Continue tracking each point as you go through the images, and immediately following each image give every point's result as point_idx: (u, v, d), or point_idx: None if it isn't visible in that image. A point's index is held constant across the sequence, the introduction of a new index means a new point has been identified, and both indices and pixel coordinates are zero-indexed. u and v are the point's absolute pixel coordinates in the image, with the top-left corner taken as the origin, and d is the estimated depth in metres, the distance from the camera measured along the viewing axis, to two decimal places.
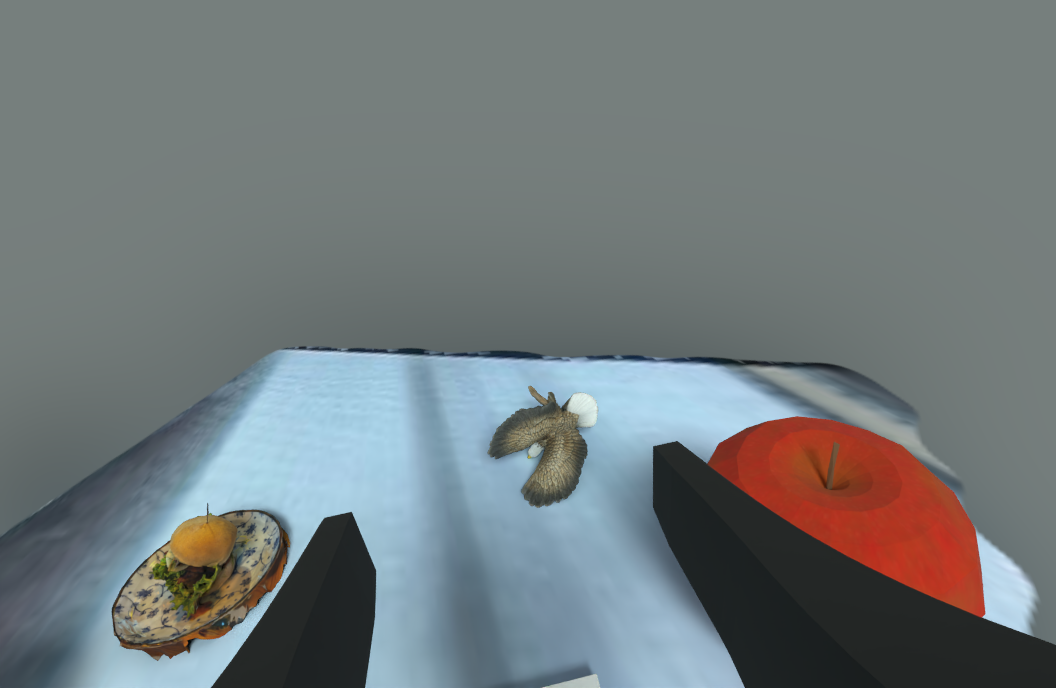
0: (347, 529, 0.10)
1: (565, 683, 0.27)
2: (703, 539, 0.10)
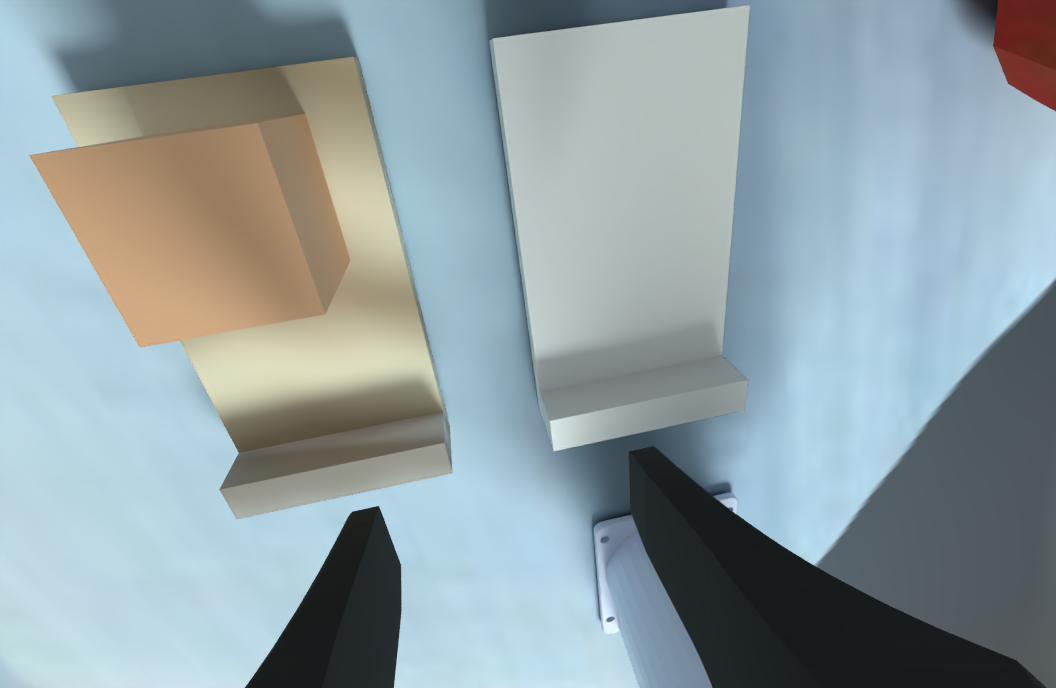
0: (375, 522, 0.10)
1: (695, 16, 0.15)
2: (675, 546, 0.10)
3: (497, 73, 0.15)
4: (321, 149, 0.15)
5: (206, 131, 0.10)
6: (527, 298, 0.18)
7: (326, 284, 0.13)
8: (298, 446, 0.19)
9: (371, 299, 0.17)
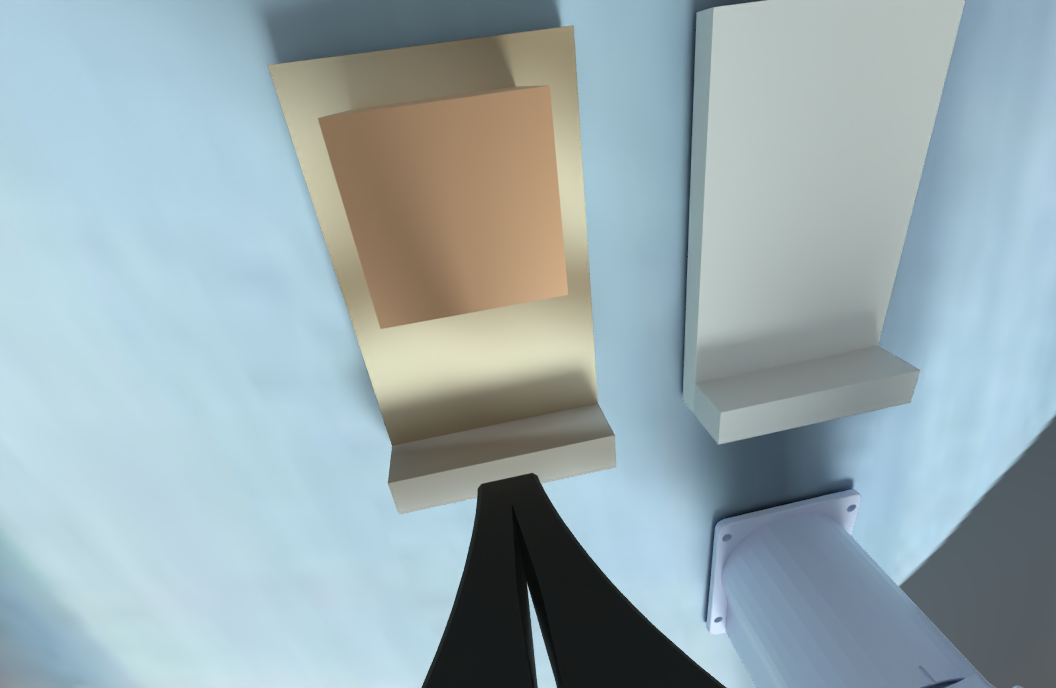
0: (510, 493, 0.11)
1: None
2: (532, 580, 0.09)
3: (710, 45, 0.14)
4: None
5: (496, 93, 0.10)
6: (699, 285, 0.18)
7: None
8: (454, 439, 0.18)
9: None
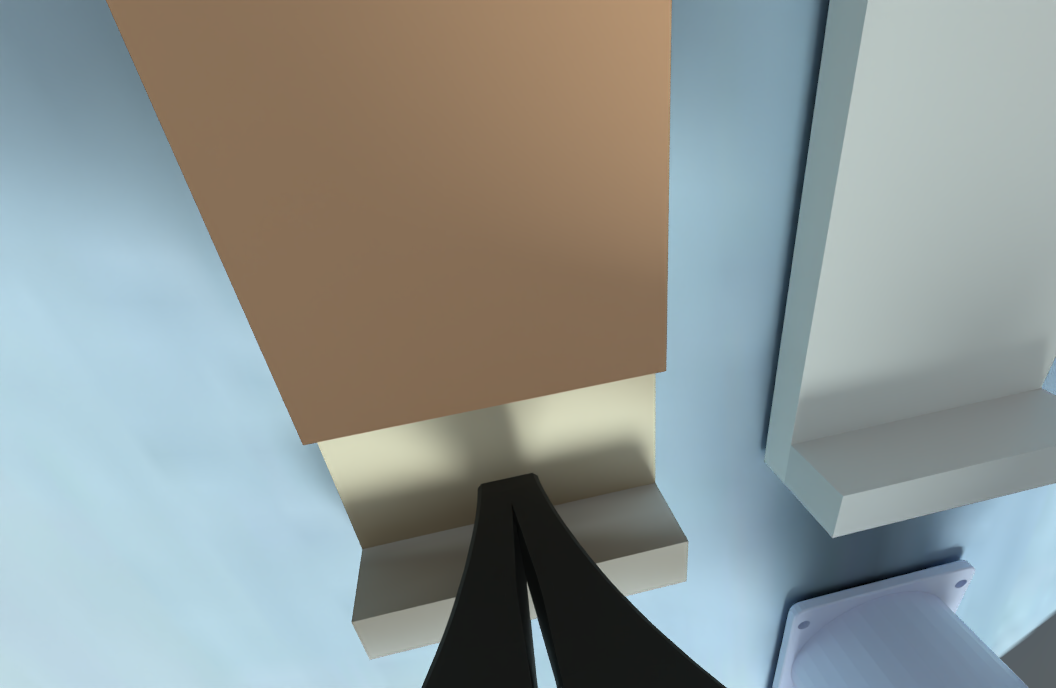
0: (510, 493, 0.11)
1: None
2: (532, 580, 0.09)
3: None
4: None
5: None
6: (813, 308, 0.12)
7: None
8: (452, 540, 0.13)
9: None
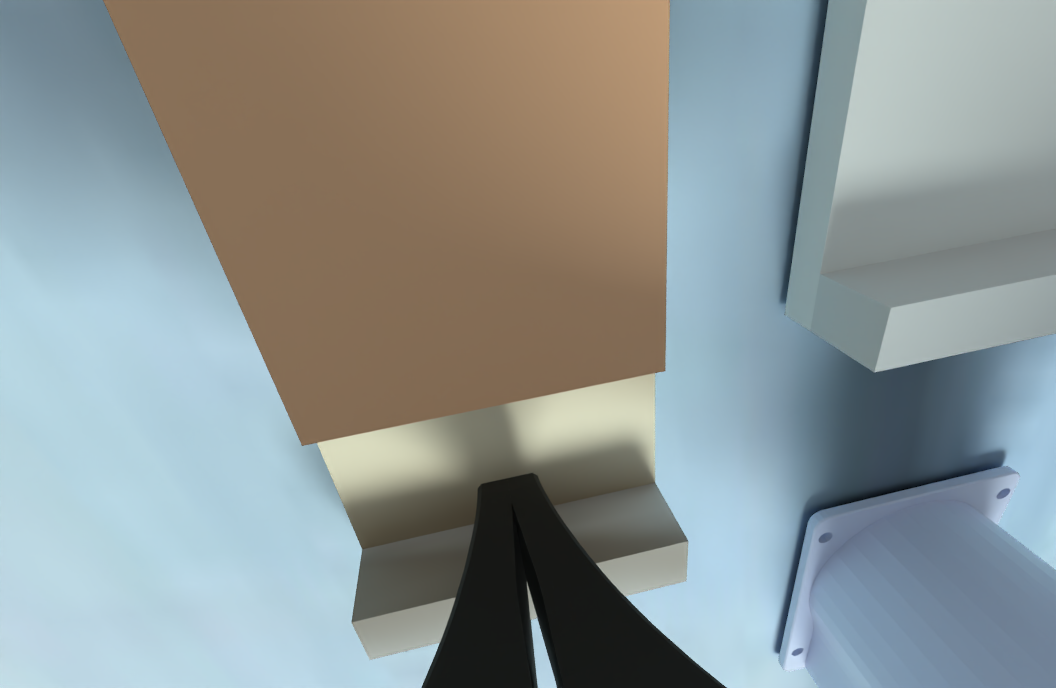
0: (509, 493, 0.11)
1: None
2: (532, 580, 0.09)
3: None
4: None
5: None
6: (854, 66, 0.09)
7: None
8: (452, 540, 0.13)
9: None
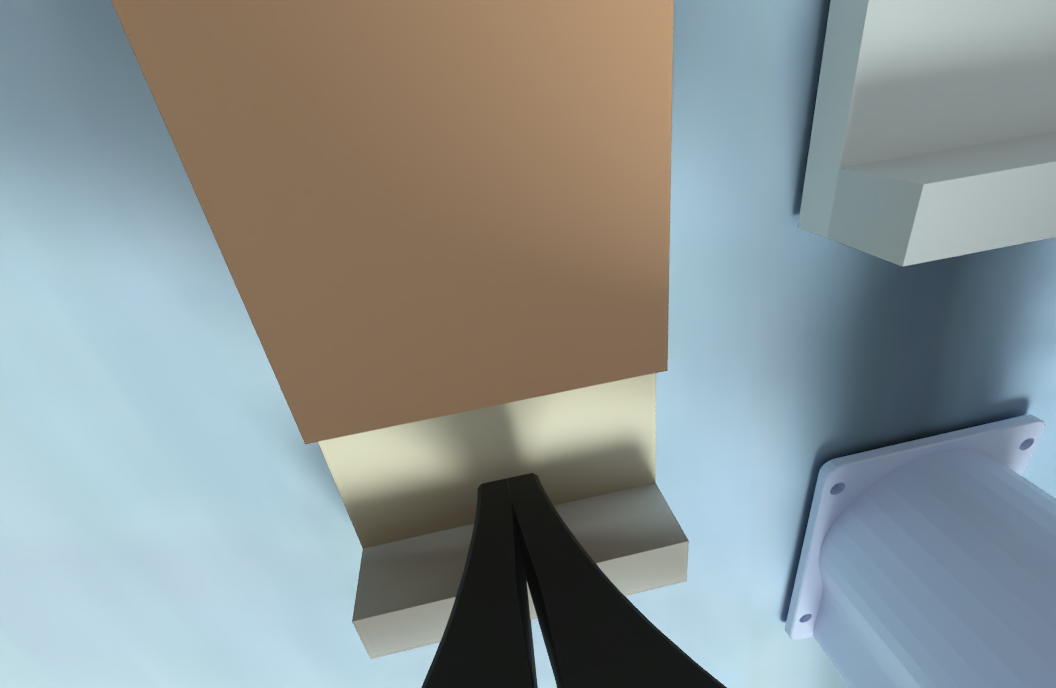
0: (510, 493, 0.11)
1: None
2: (532, 580, 0.09)
3: None
4: None
5: None
6: None
7: None
8: (453, 539, 0.13)
9: None
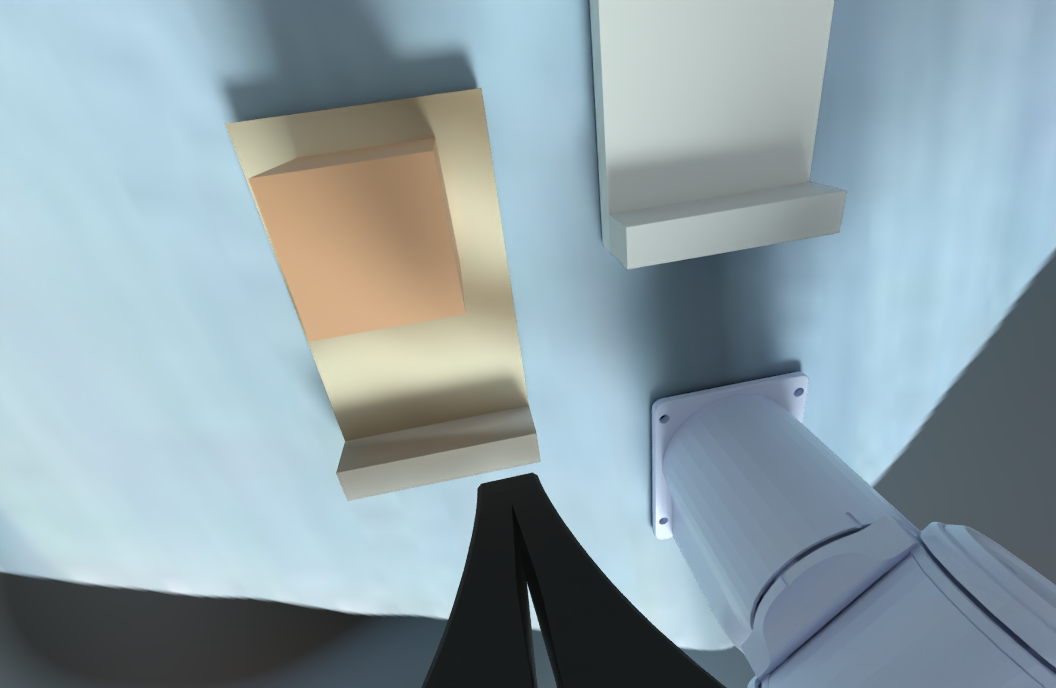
0: (509, 493, 0.11)
1: None
2: (532, 580, 0.09)
3: None
4: (446, 168, 0.17)
5: (390, 158, 0.12)
6: (602, 88, 0.16)
7: (461, 287, 0.15)
8: (399, 435, 0.21)
9: (475, 302, 0.19)
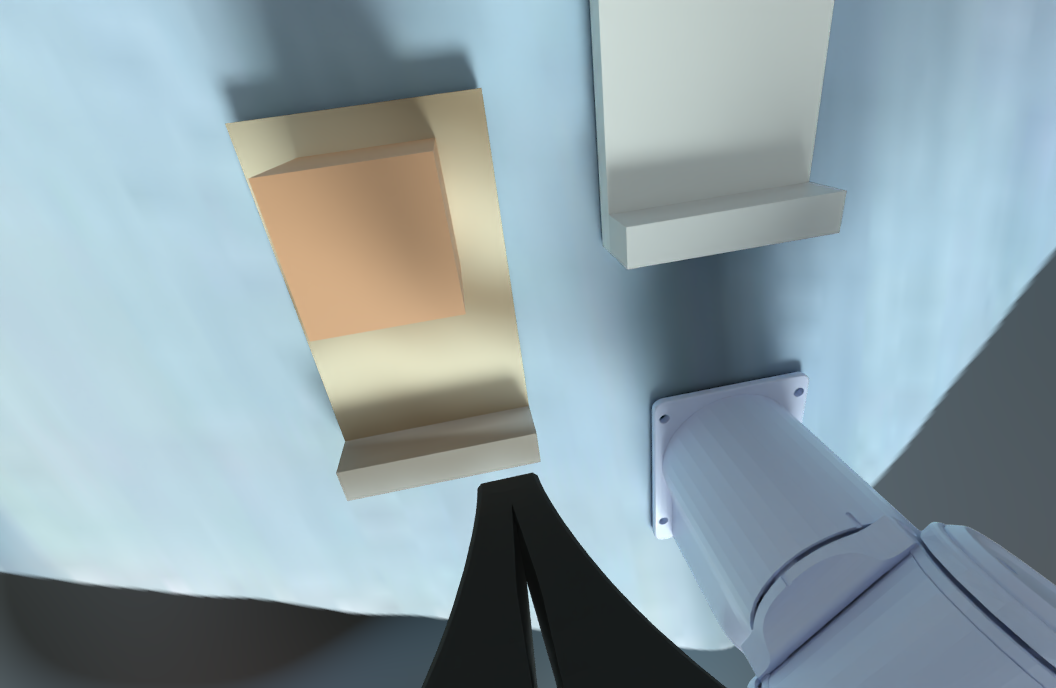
0: (509, 493, 0.11)
1: None
2: (532, 580, 0.09)
3: None
4: (446, 168, 0.17)
5: (390, 158, 0.12)
6: (602, 88, 0.16)
7: (461, 287, 0.15)
8: (399, 435, 0.21)
9: (475, 302, 0.19)
